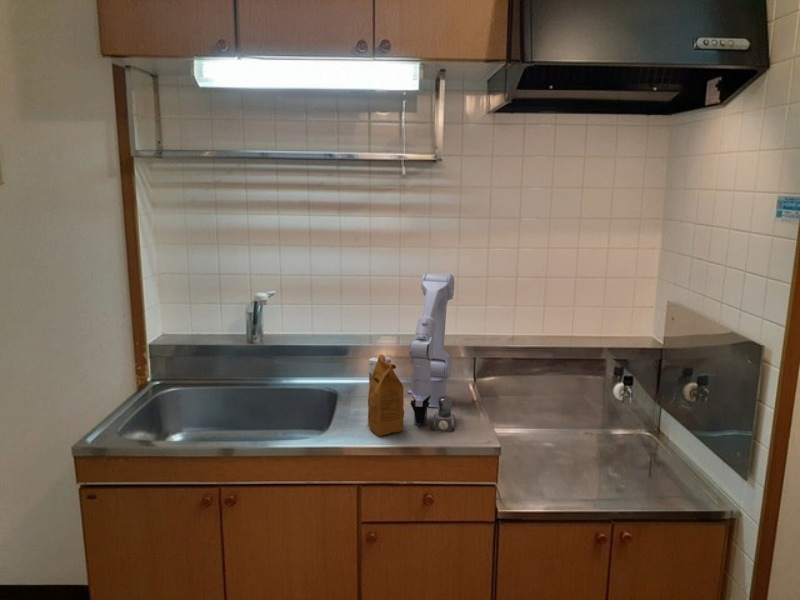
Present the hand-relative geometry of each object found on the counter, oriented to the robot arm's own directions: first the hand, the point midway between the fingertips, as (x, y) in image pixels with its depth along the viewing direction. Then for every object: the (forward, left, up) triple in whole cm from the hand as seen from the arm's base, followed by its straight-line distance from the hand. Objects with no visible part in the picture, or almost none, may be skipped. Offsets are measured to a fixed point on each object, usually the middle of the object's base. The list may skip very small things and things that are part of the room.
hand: (420, 419), depth 181 cm
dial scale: (-1, +7, -1) cm, 7 cm away
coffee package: (+4, -11, -2) cm, 11 cm away
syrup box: (-19, -16, -2) cm, 25 cm away
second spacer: (0, 0, -1) cm, 1 cm away
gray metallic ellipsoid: (-4, +7, 0) cm, 8 cm away
